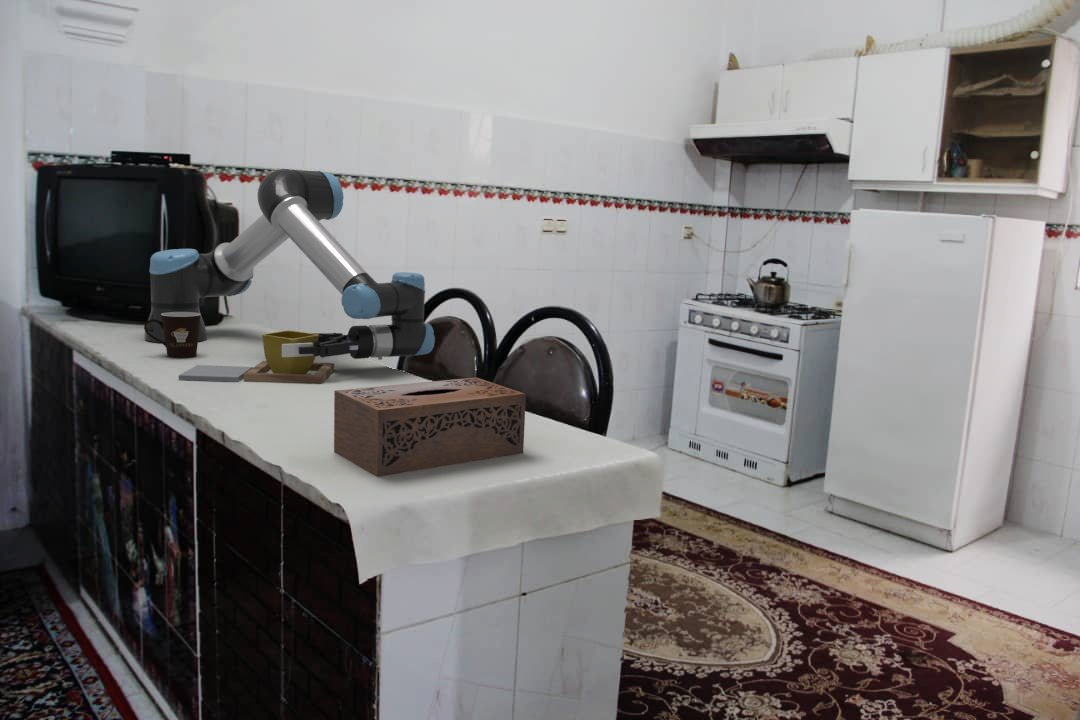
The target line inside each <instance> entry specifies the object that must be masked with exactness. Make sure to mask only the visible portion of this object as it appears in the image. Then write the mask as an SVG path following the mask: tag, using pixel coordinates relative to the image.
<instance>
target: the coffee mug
mask: <svg viewBox="0 0 1080 720" xmlns="http://www.w3.org/2000/svg"><path fill="white" fill-rule="evenodd" d="M200 316H202V313H200V314H199V313H193V312H169V313H163V314H161V317H162V322H161V321H159V320H156V319H152V320H149V321H148V320H147V321H146V322H145V324H144V326H143V330H144V333H145V332H146V333H147V334H148V335H149V336H150V337H151V338H153V339H155V340H156V341H158V342H157V343H159V342H160V344H162V345H163V347H165V348H166V349H165V350H166V354H167V355H166V356H167V358H170V359H192V358H196V357H197V355H198V354H197V352H198V346H199V345H198V344H199V343H198V342H199V341H198V335H199V326H200ZM150 322H157V323H158V324H160V326H161V327H162V329H163V330H164V337H165V342H163V341H161V340H159V339H158V338H156V337H154V336H153V335H151V334H150V333H149V332H148V331H147V328H146V327H147V324H148V323H150Z"/></svg>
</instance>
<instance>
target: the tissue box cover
mask: <svg viewBox="0 0 1080 720" xmlns="http://www.w3.org/2000/svg"><path fill="white" fill-rule="evenodd" d="M526 396H527V393H524V392H521V391H518V390H515V389H514V388H513V389H512V388H510V387H506V386H503V385H500V384H497V383H495V382H491V381H488V380H486V379H482V378H479V377H467V378H454V379H453V378H452V379H443V380H434V381H424V382H423V381H422V382H413V383H402V384H401V383H400V384H393V385H391V384H390V385H381V386H379V385H378V386H371V387H360V388H359V387H357V388H349V389H338V390H337V389H336V390H334V399H333V400H334V401H333V402H334V412H333V415H334V417H333V418H334V421H333V423H334V424H333V428H334V429H333V430H334V431H333V453H335V454H336V455H338V456H340V457H342V458H344V459H345V460H347V461H349V462H350V463H352V464H353V465H355V466H357V467H359V468H361V469H363V470H364V471H366V472H367V473H369V474H371V475H373V476H374V477H377V478H379V477H385V476H390V475H391V476H392V475H397V474H403V473H410V472H416V471H423V470H428V469H435V468H440V467H446V466H448V467H449V466H453V465H459V464H465V463H473V462H476V461H477V462H478V461H484V460H492V459H496V458H503V457H508V456H515V455H521V454H524V448H525V446H524V444H525V443H524V442H525V423H526V421H525V419H526V404H527V403H526V400H527V399H526Z"/></svg>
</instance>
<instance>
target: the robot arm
mask: <svg viewBox="0 0 1080 720" xmlns="http://www.w3.org/2000/svg"><path fill="white" fill-rule="evenodd" d="M257 203H258V205H259V209H260V211H261V213H262V215H260V216H259V217H258V218H257V219H256V220H255V221H253V223H251V224H250V225H248V227H247V228H245V230H243V231H242V232H241V233H240V234H239V235H238V236H237V237H235V238H234V239H233V240H232V241H230V242H223V243H220V244H218V245H217V246H216V247H215V248H214V249H213V250H212V251H210V252H208V253H199V252H198V250H197V249H194V248H178V249H175V248H174V249H167V250H161V251H160V250H159V251H157V252H154V253H153V254H152V255H151V257H150V259H149V260H150V264H149V273H150V277H149V278H150V301H151V304H150V305H151V308H150V314H149V317H148V319H147V321H149V320H152V319H156V320H159V321H161V322H162V317H161V314H163V313H169V312H193V313H199V314H201V312H200V298H208V297H209V298H212V297H232V296H237V295H241V294H242V293H245V292H246V291H247V290H248V289H249V288H250V286H251V285H252V279H253V278H254V269H255V268H254V267H257V265H258V264H259V263H261V262H262V261H263V260H264V259H266V258H267V257H268V256H269V255H270V254H271V253H272V252H274V251H275V250H276V249H277V248H279V247H280V246H281V245H283V243H285V242H286V241H287V240H288V239H291V240H290V241H292V242H293V243H294V244H295V245H296V246H297V248H298V249H299V250H300V251H301V252H302V253H303V254H304V255H305V256H306V257H307V258H308V260H310V262H311V263H312V264H313V265H314V266H315V267H316V268H317V270H319V272H320V273H321V274H322V275H323V276H324V277H325V279H327V280H328V282H329V283H330V284H331V285H332V286H333V288H335V289H336V290H337V291H338V292H339V293H340V294H341V305H342V307H343V310H344V313H345V314H346V316H348V317H350V318H351V319H355V320H361V319H362V320H371V319H376V318H382V317H391V324H370V325H366V324H365V325H352V326H351V327H350V328H349V330H348V333H347V334H343V333H340V332H330V333H329V332H327V333H325V332H322V333H320V332H318V333H317V332H315V333H313V332H311V333H312V334H318V335H319V338H318V341H314V346H313V343H294V344H282V357H299V356H313V354H314V356H315V357H320V358H327V357H334V356H340V355H350V357H351V358H352V359H354V360H357V359H358V360H359V359H361V360H362V359H368V358H370V359H371V358H372V359H373V358H377V360H379V361H380V360H383V357H384V358H391V357H415V356H422V355H427V354H430V353H431V352H432V351H433V348H434V347H435V341H436V340H435V339H436V337H435V335H434V332H435V331H434V329H433V326H432V325H431V324H429V323H426V322H425V301H426V300H425V295H426V288H425V285H426V283H425V277H424V275H423V274H421V273H419V272H418V273H416V272H394V273H393V274H392V277H391V282H380V283H379V282H377V281H376V280H375V279H374V278H373V277H372V276H370V275H369V273H368V272H367V271H366V270H365V269H364V268H363V267H362V265H360V263H359V262H357V261H356V259H355V258H354V257H353V256H352V255H351V254H350V253H349V252H348V250H346V249H345V247H344V246H343V245H342V244H341V243H340V241H338V239H336V238H335V237H334V236H333V234H332V233H331V232H329V230H328V229H327V228H326V227H325V226H324V225H323V223H321V222H320V221H322V220H326V221H330V220H333V219H335V218H336V217H339V215H340V214H341V212H342V209H343V205H344V191H343V187H342V185H341V182H340V181H339V180H338V178H337V177H336V176H335V175H333V174H331V173H329V172H326V171H325V172H324V171H322V170H316V171H315V170H301V169H289V168H281V169H276V170H273V171H271V172H269V173H268V174H267V175H265V177H264V178H263V179H262V180H261V181H260V183H259V186H258V189H257ZM146 328H147V331H148V332H149V333H150V334H151V335H153V336H154V337H156V338H158V339H159V340H161V341H163V342H165V337H164V330H163V329H162V327H161V326H160V324H158V323H157V322H150V323H148V324H147V327H146ZM207 336H208V332H207V328H206V325H205V322H204V319H203V317H202V315H201V316H200V326H199V335H198V342H202V341H205V340H207V339H208V337H207ZM144 340H145V341H147V342H152V343H160V342H158V341H156V340H155V339H153V338H151V337H150V336H149V335H148V334H147V333H146V332H145V331H144ZM160 344H161V343H160Z"/></svg>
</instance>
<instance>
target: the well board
mask: <svg viewBox="0 0 1080 720" xmlns="http://www.w3.org/2000/svg"><path fill="white" fill-rule="evenodd" d="M252 367H253V368H252V369H251V370H249V371H248V372H246V373H245V374H244V378H243V382H256V383H259V382H260V383H283V384H284V383H287V384H313V385H314V384H317V385H320V384H321V385H322V384H323V382H325V380H327V378H328V377H329V376H330V375H331V374H332V373H333V372H334V371H335V363H334V362H333V363H332V362H313V364H312V366H311V368H310V369H309V371H310V372H315V373H314V374H310V373H307V374H280V373H273V372H268V371H270V370H271V369H270V367H269V365H268V363H267V361H266V360H262V361H260V362H259V363H258V364H256V365H255V366H252ZM309 371H308V372H309Z"/></svg>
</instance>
